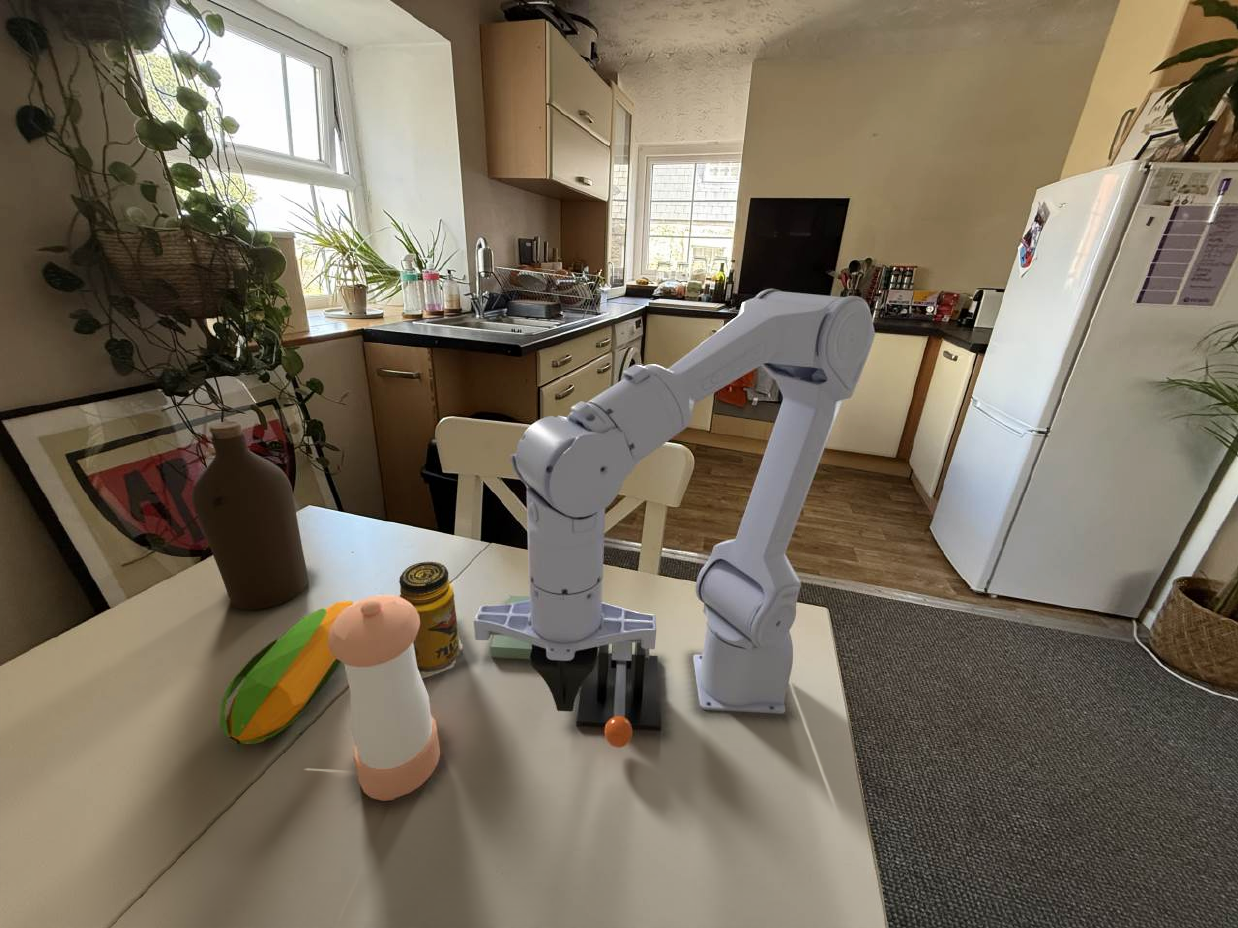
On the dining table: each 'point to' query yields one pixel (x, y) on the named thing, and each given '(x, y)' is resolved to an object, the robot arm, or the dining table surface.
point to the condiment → (432, 616)
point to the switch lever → (619, 697)
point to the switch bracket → (638, 695)
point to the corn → (281, 679)
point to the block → (511, 641)
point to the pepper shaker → (386, 696)
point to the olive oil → (250, 523)
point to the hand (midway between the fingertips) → (566, 701)
